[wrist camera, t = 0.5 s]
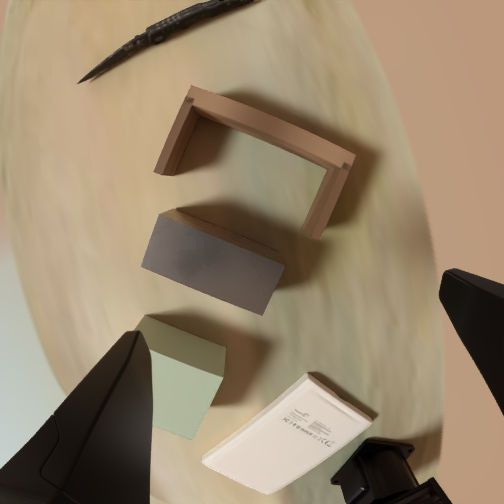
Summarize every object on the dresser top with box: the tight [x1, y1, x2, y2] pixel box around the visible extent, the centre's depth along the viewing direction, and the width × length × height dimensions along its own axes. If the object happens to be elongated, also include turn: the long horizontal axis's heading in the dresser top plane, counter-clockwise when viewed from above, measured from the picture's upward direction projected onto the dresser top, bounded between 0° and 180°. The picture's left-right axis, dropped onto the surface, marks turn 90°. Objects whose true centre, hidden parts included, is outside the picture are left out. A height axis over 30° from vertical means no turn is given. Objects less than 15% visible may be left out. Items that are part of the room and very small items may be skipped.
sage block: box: [135, 315, 226, 440], centre depth 20 cm, size 6×6×4 cm
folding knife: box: [77, 0, 254, 84], centre depth 17 cm, size 13×1×2 cm, turn 116°
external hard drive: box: [202, 373, 373, 495], centre depth 24 cm, size 2×8×12 cm
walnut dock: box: [154, 85, 356, 240], centre depth 18 cm, size 10×5×3 cm, turn 67°
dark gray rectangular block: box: [141, 209, 285, 315], centre depth 18 cm, size 7×3×4 cm, turn 67°
